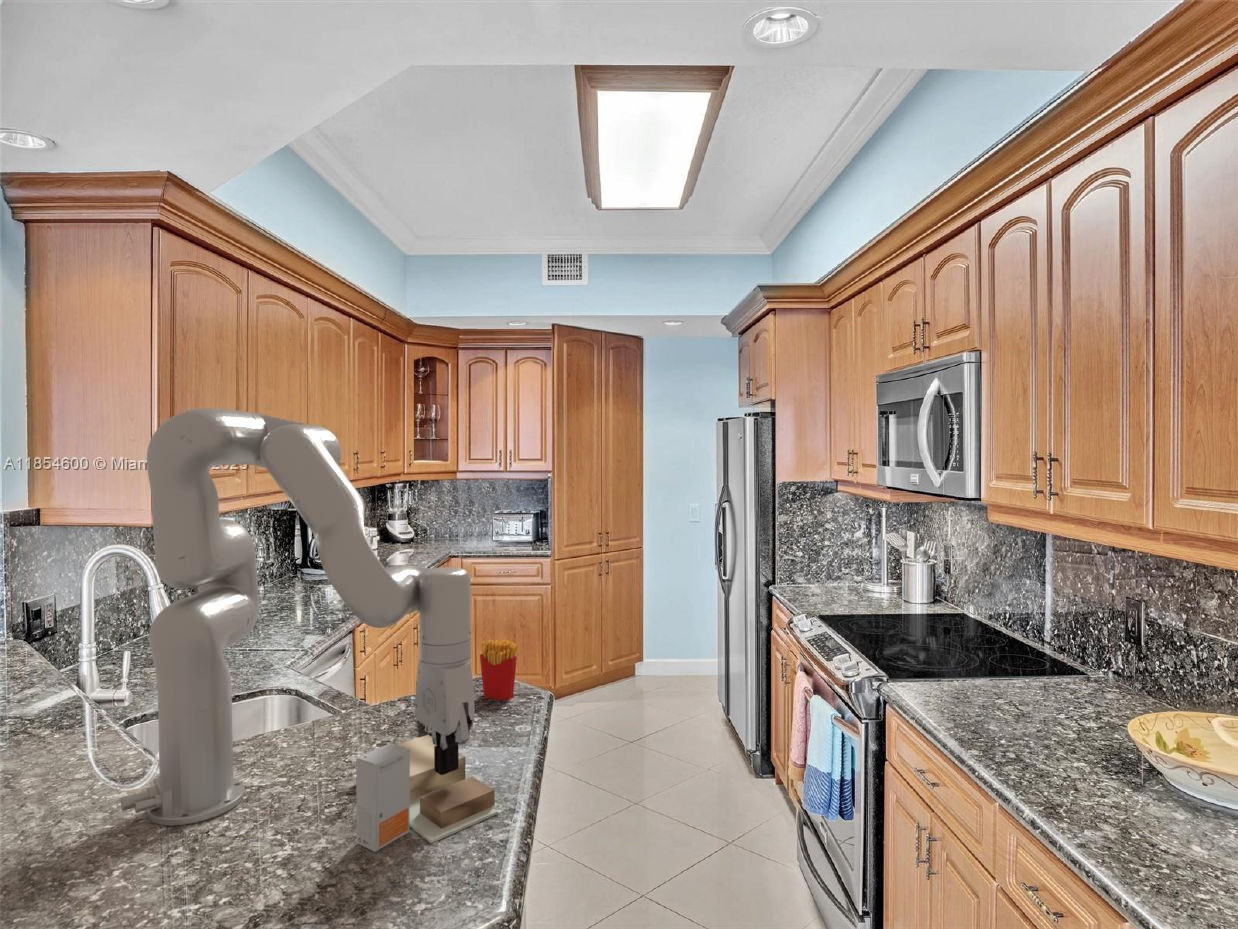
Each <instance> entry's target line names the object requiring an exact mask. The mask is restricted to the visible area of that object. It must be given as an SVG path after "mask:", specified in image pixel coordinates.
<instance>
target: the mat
mask: <svg viewBox="0 0 1238 929" xmlns="http://www.w3.org/2000/svg"><path fill="white" fill-rule="evenodd" d="M453 784H454V783H453ZM448 786H449V785H448ZM445 787H446V786H445ZM443 788H444V787H443ZM440 789H441V788H440ZM438 790H439V789H438ZM435 791H436V790H435ZM432 792H434V791H432ZM430 793H431V792H430ZM427 794H428V793H427ZM425 795H426V794H425ZM422 796H423V795H422ZM420 797H421V796H420ZM420 797H417V798H414V799H412V800H410V817H409V828H411V829H412V830H413V831H415V833H417V834H418V835H419V836H421V837H422V838H424V840H426V841H427V842H428V843H429V844H432V843H436V842H437V841H439V840H441V839H444V838H446V837H448V836H452V835H453V834H455V833H457V832H460V831H463V830H466V829H467V828H468V827H471V826H474V825H475V824H479V823H480V822H482V821H485V820H487V819H489V818H491V817H493V816H496V815H498V814H499V812H498V810H497V809H495V808H494V807H490V808H488V809H486V810H484V811H481V812H479V813H477V814H474V815H472V816H470V817H467V818H465V819H463V820H461V821H458V822H456V823H454V824H451V825H449V826H447V827H445V828H442V829H441V828H439V827H438V826H437V825H435V824H434V823H433V822H431V821H430V820H429V819H427V818H426V817H425V816H423V815H422V814H421V813H420Z"/></svg>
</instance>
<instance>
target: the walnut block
mask: <svg viewBox="0 0 1238 929" xmlns="http://www.w3.org/2000/svg"><path fill="white" fill-rule="evenodd" d="M495 795H496V794H495V789H493V788H492V787H491V786H489V785H488V784H486V783H484V782H482V781H481V780H480V779H478V778H475V777H474V776H470V777H467V778H466V779H464V780H462V781H459V782H457V783H454V784H451V785H449V786H446V787H444V788H441V789H439V790H436V791H434V792H431V793H428V794H426V795H423V796H421V797H420V813H421V814H422V815H423V816H425V817H426V818H427V819H429V820H430V821H431V822H433V823H434V824H435V825H437V826H438V827H439V828H441V829H442V828H445V827H447V826H449V825H451V824H454V823H456V822H458V821H461V820H463V819H465V818H467V817H470V816H472V815H474V814H477V813H479V812H481V811H484V810H486V809H488V808H490V807H492V808H494V807H495V806H496V805H495V802H496V800H495Z"/></svg>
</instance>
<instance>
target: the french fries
mask: <svg viewBox="0 0 1238 929" xmlns="http://www.w3.org/2000/svg"><path fill="white" fill-rule="evenodd" d="M517 649H518V644H517V643H515V642H513V641H511V640H509V639H507V640H506V639H504V638H503V639H501V640H498V639H496V640H495V639H488V641H486V640H483V641H482V642H481V650H482V653H481V654H479V659H480V670H481V679H482V680H481V681H482V691H483V692H482V693H483V694H482V695H483V697H485V698H487V699H491V698H494V699H493V700H497V699H498V700H499V701H506V700H510V699H511V698H513V697H514V693H515V692H514V690H515V679H516V669H517V668H516V667H517V655H516V654H517Z"/></svg>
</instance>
